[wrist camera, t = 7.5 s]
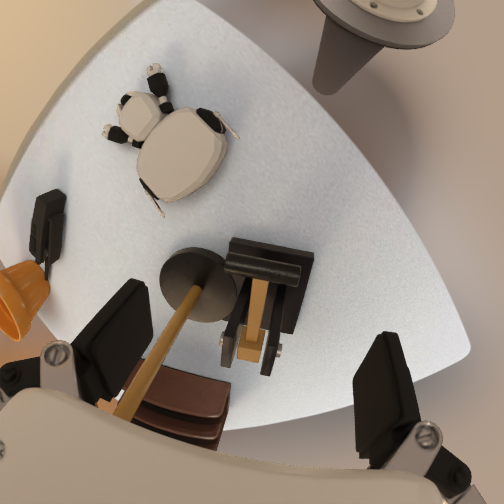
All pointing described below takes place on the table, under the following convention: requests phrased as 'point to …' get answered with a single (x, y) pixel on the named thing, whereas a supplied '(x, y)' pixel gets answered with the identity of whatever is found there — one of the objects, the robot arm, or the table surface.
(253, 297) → the switch lever
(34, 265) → the flower pot
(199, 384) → the letter holder
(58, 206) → the walkie-talkie
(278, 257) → the black pivot bracket
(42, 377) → the robot arm
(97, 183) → the table surface
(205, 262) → the desk lamp
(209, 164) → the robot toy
